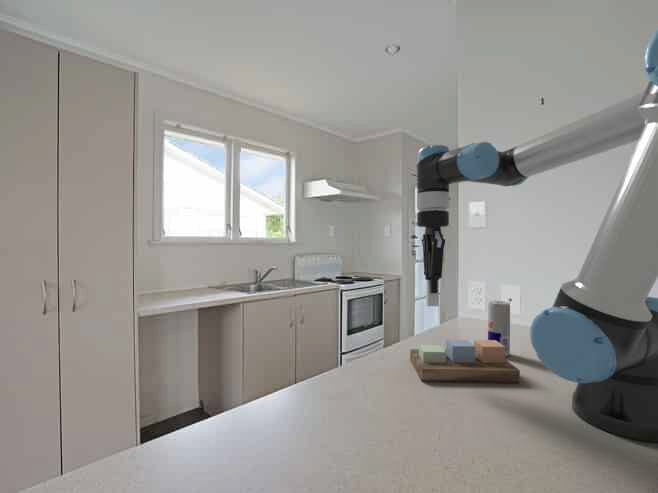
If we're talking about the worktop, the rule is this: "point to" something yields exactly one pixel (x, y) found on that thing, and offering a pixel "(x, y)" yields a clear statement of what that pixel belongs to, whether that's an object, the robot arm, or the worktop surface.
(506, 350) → the beverage can
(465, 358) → the slate button
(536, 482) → the worktop surface
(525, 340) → the worktop surface
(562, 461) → the worktop surface
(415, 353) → the board
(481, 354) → the terracotta button
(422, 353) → the sage button
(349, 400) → the worktop surface
